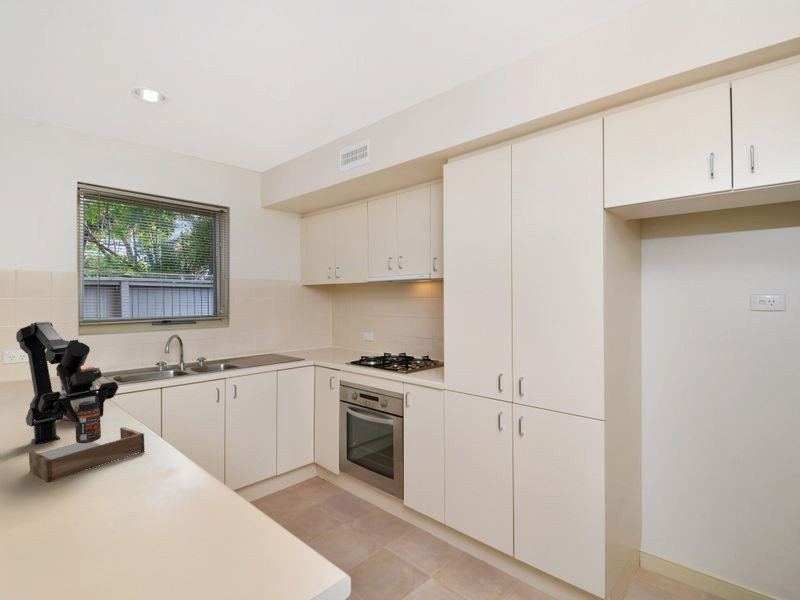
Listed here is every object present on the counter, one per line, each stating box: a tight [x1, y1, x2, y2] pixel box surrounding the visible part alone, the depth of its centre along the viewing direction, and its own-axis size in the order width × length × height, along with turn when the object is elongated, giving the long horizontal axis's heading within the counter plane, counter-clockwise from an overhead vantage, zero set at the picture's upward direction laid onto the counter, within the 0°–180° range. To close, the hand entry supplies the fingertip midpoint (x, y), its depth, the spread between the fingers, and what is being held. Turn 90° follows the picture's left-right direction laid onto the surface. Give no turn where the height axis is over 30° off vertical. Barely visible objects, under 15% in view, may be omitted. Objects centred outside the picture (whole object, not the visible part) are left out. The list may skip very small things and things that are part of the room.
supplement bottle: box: [74, 401, 102, 443], centre depth 122 cm, size 6×6×11 cm
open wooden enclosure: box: [28, 426, 145, 483], centre depth 122 cm, size 13×24×6 cm, turn 148°
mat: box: [37, 441, 101, 459], centre depth 129 cm, size 14×14×1 cm
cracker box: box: [59, 365, 97, 422], centre depth 164 cm, size 14×6×21 cm, turn 65°
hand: (89, 418), depth 121 cm, fingers closed on supplement bottle, 6 cm apart
